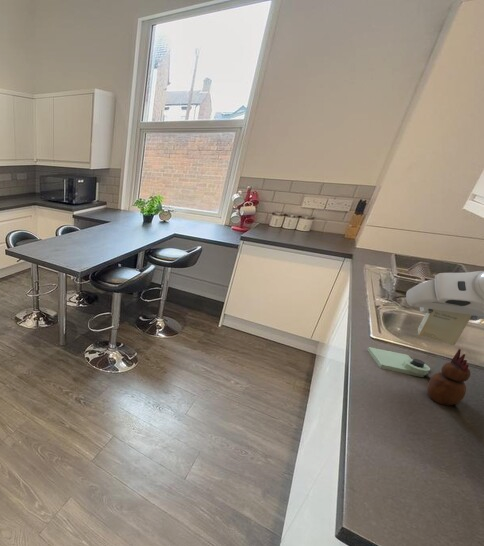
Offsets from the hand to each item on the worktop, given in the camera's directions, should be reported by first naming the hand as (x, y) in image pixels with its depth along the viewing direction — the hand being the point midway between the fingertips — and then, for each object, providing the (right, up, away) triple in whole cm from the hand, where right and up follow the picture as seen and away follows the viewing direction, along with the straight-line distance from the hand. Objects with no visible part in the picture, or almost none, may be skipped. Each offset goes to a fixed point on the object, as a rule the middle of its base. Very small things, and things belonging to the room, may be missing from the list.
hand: (445, 313), depth 76 cm
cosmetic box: (0, -7, +2) cm, 7 cm away
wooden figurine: (+7, -24, +7) cm, 26 cm away
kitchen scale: (+9, -18, +21) cm, 30 cm away
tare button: (+11, -18, +16) cm, 27 cm away
